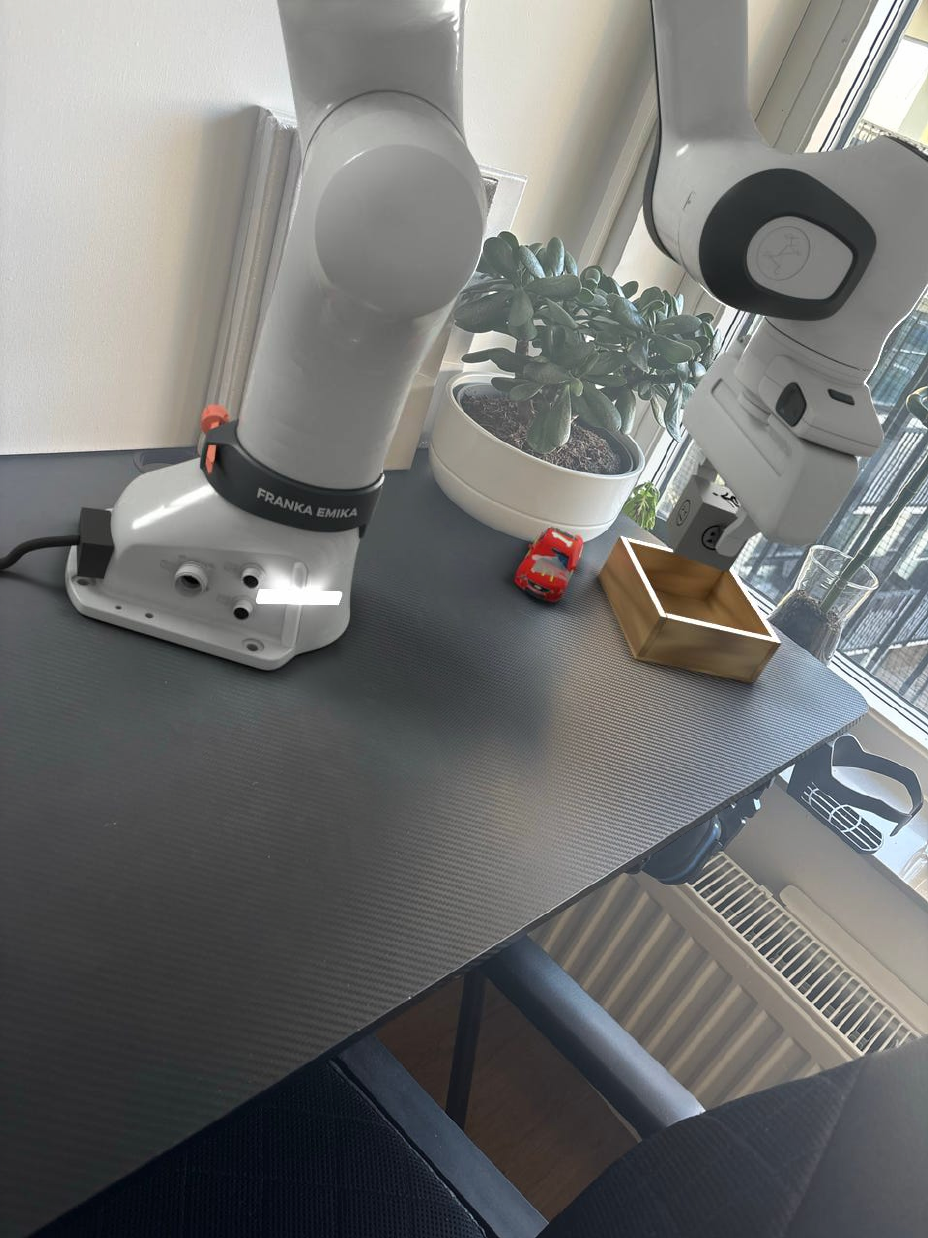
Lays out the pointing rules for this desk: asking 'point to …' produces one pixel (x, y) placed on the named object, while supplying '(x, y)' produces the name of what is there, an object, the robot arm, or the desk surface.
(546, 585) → the race car
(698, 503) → the dice cube
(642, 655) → the crate
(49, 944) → the desk surface
